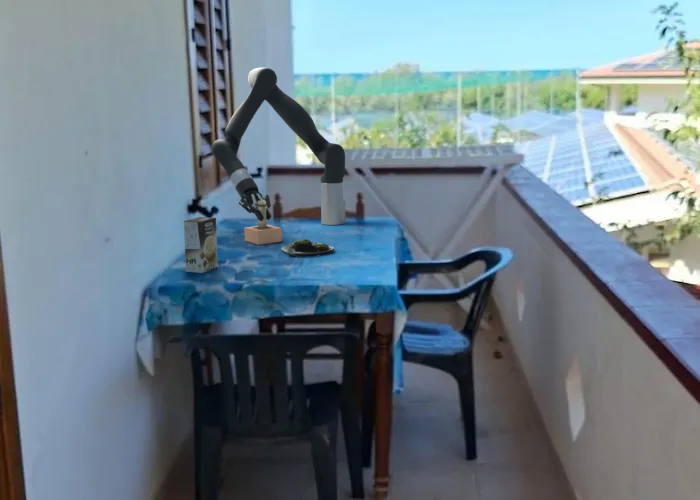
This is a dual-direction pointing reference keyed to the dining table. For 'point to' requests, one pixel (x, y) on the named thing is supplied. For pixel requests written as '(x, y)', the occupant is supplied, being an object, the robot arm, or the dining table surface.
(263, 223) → the birch peg
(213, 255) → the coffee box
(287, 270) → the dining table surface
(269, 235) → the orange square ring
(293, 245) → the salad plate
